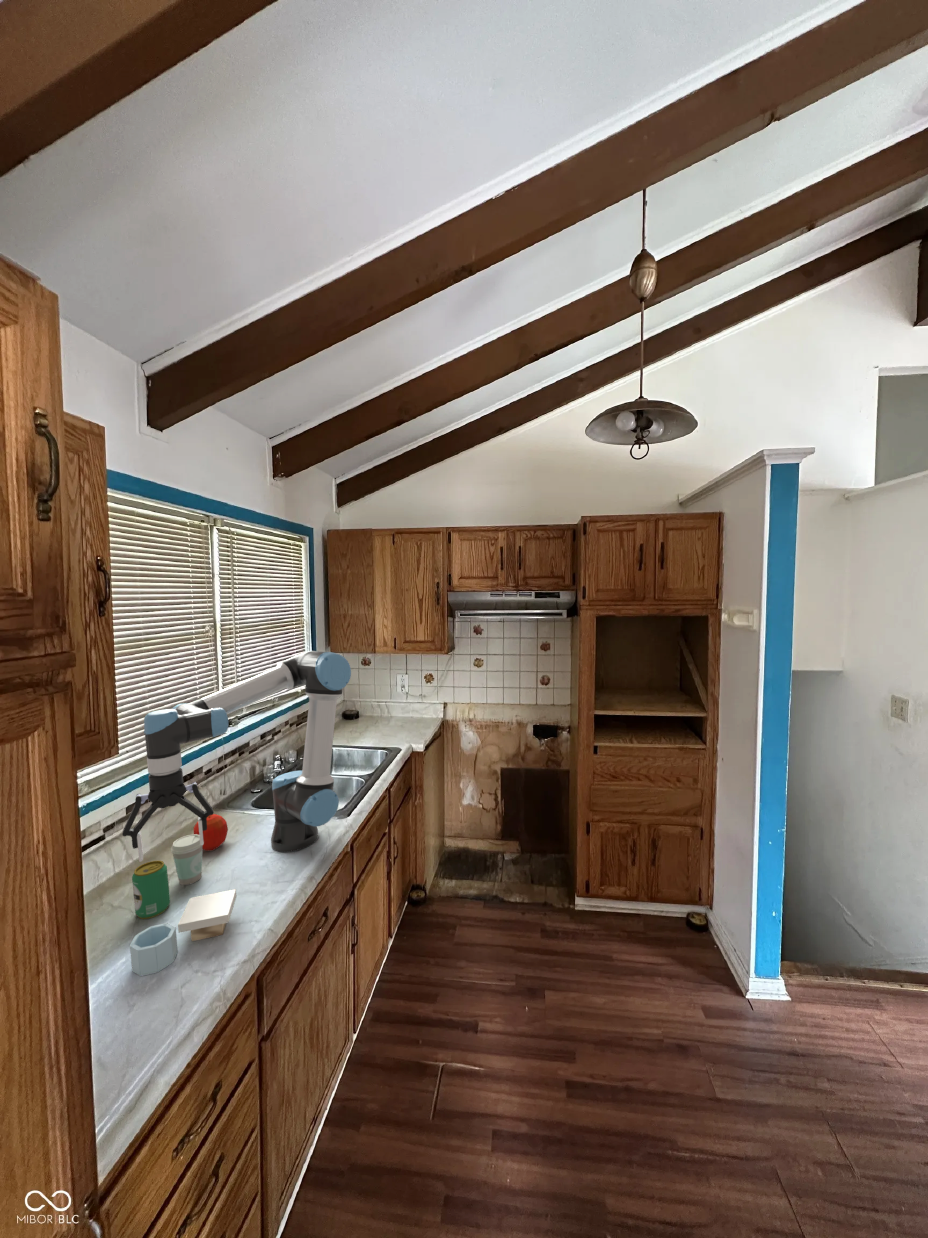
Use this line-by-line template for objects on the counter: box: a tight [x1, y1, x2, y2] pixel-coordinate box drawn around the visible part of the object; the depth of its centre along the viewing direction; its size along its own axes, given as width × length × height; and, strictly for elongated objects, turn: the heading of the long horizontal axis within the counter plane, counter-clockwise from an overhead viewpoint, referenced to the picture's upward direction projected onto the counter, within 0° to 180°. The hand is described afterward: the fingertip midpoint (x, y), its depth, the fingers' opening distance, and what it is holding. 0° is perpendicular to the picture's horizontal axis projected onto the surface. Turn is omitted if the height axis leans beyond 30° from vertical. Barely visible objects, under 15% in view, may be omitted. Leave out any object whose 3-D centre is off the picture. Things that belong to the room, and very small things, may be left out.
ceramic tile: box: [177, 888, 238, 934], centre depth 126 cm, size 11×11×2 cm
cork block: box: [190, 923, 227, 942], centre depth 126 cm, size 7×7×4 cm
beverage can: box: [131, 859, 171, 920], centre depth 135 cm, size 8×8×12 cm
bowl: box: [129, 922, 179, 977], centre depth 115 cm, size 8×8×6 cm
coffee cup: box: [170, 833, 203, 886], centre depth 149 cm, size 8×8×12 cm
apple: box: [193, 813, 229, 852], centre depth 168 cm, size 10×10×12 cm
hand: (172, 851), depth 130 cm, fingers open, 13 cm apart
